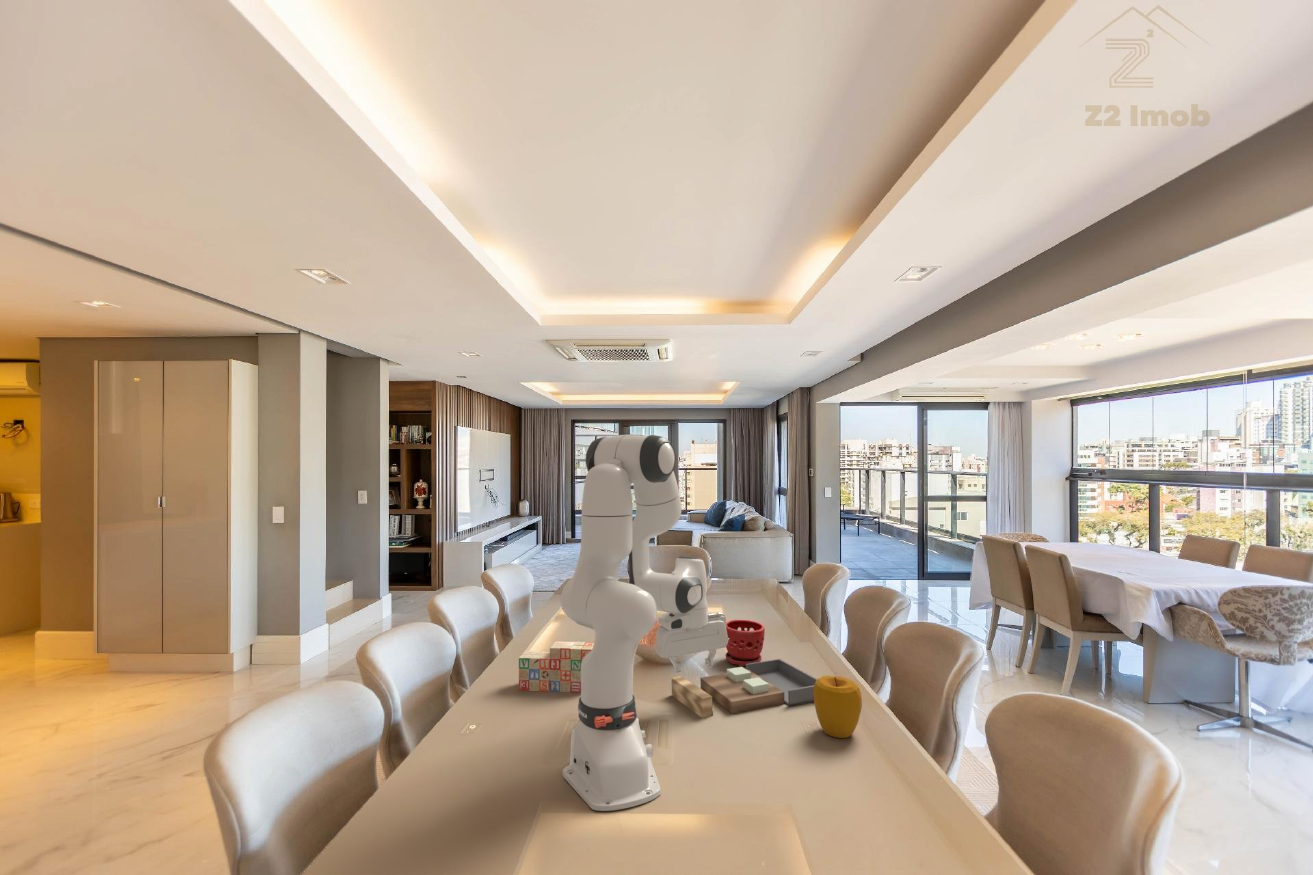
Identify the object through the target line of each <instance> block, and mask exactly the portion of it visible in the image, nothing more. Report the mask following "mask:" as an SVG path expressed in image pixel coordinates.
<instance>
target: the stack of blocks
mask: <svg viewBox="0 0 1313 875" xmlns="http://www.w3.org/2000/svg"><path fill="white" fill-rule="evenodd" d="M593 646H594V642H586V641H554V642H553V644H552V645H551V646H550V648H549V651H540V650H539V651H538V650H536V651H533V650H525V651H524V652H523V653H522V654H521V655H520V656H519V657H518V691H532V692H539V691H540V692H558V693H559V692H560V693H562V692H563V693H564V692H565V693H580V694H581V663H582V660H583V658H584V657H585V656H586V655H587V654H588V653H589V652H591V651H592V649H593Z"/></svg>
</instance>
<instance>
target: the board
mask: <svg viewBox="0 0 1313 875" xmlns="http://www.w3.org/2000/svg"><path fill="white" fill-rule="evenodd" d="M748 671H749V672H751V671H750V670H748ZM758 677H759V676H758V675H756V674H755V673H753V672H751V679H752V678H758ZM759 678H760V679H762V680H764V679H763V678H761V677H759ZM764 681H765V682H767V681H766V680H764ZM767 683H768V684H769V691H768V692H763V693H758V694H752V693H750V692H749V691H747V690H746V689H744V688H743V681H741V682H734V681H733V680H732V679H730V678H729V677H727V672H725V673H721V674H716V675H709V676H702V677H700V689H702V690H703V691H705V692H706V693H708V694H709V695H711V696H712V700H714V701H716V702H717V703H718V704H719V705H721V706H722V707H723V708H724V709H725V710H727V711H728V712H729V713H730V714H731V715H733V714H738V713H739V714H740V713H744V712H749V711H753V710H759V709H764V708H769V707H775V706H779V705H784V704H786V703H785V701H784V692H783V691H782V690H780V689H779V688H777V687H775V686H774V685H772V684H771V683H769V682H767Z"/></svg>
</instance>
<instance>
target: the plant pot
mask: <svg viewBox="0 0 1313 875" xmlns="http://www.w3.org/2000/svg"><path fill="white" fill-rule="evenodd" d="M739 628H740V630H739ZM745 629H746V630H745ZM750 629H752V630H750ZM726 630H727V636H728V644H727V646H726V647H725V648H726V651H727V652H726V653H725V655H724V656H725V658H726V660H727V661H728V662H729V663H731V665H732V664H733V665H735V666H739V667H746V664H749V663H756V662H762V660H763V657H762V655H761V653H762V650H763V647H764V640H765V633H766V632H765V630H766V629H765V626H764V625H763V624H762V623H761V622H757V621H755V620H750V619H749V620H748V619H734V620H733V619H732V620H731V619H730V620H729V621H726Z"/></svg>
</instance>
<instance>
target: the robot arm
mask: <svg viewBox="0 0 1313 875" xmlns="http://www.w3.org/2000/svg"><path fill="white" fill-rule="evenodd" d="M676 460H677V459H676V451H675V448H674V446H673V445H672V443H671V442H670V441H669V440H668V438H667V437H664V436H662V435H661V436H660V435H655V434H651V435H641V434H640V435H639V434H630V433H629V434H619V435H614V436H607V435H606V436H603V437H599V438H596V439H594V440H592V441H591V442H590V444H589V446H588V448H587V450H586V452H585V467H586V470H587V473H586V475H585V476H586V477H585V480H584V483H583V484H584V486H583V491H582V493H583V494H582V499H581V500H582V501H581V526H580V527H581V528H580V529H581V533H580V536H581V537H580V552H579V556H578V561H577V564H576V568H575V570H574V573H573V576H572V577H571V578H570V579H569V580H568V581H567V583H565V585H564V587H563V589H562V591H561V594H560V606H561V610H562V611H563V613H564V614H565V616H566V617H568V618H570V620H572V621H573V622H574V623H576V624H578V625H579V626H582V627H585V628H588V629H590V630H593V631H594V633H595V635H594V636H595V637H594V642H593V643H594V646H593V649H592V651H591V652H589V653H588V654H587V655H586V656H585V657H584V658H583V660H582V663H581V693H580V696H579V698H578V706H577V711H578V722H577V724H575V726H574V728H572V730H571V736H570V737H571V738H570V753H569V754H570V755H569V756H570V757H569V764H567V765H566V766H565V767H563V769H562V777H563V779H565V781H566V782H568V784H569V785H570V786H571V788H573V790H574V791H575V792H576V793H577V794H578V795H579V796H580V797H581V799H582V800H583V801H584V802H585V803H586V804H587V806H588V807H590V809H592V810H594V811H600V812H606V811H607V812H610V811H618V810H624V809H628V808H632V807H633V808H634V807H636V806H639V805H642V804H645V803H648V802H650V801H653V800H654V799H657V798H658V797H659V796H660V795H661V793H662V790H661V789H662V788H661V786H660V783H659V779H658V777H657V774H656V771H655V768H654V765H653V761H652V759H651V757H653V754H654V751H653V750H654V749H653V744H651V743H648V744H645V741H644V738H645V739H646V731H645V730H642V729H641V728H640V727H641V726H640V723H639V721H640V720H639V718H638V717H637V716H638V715H637V704H636V699H635V695H634V692H633V690H634V687H633V686H634V662H635V655H636V653H637V649H638V647H639V644H640V642H641V640H642V639H643V638H644V637H646V636H647V635H649V633H650V632H651V631H652V629H653V627H654V626H655V623H656V621H657V623H658V624H659V625H660V626H659V627H658V628H657V630H656V636H655V652H656V654H657V655H658V656H659V657H660V658H661V659H666V658H667V659H669V661H670V662H671V664H672V665H673V666H672V670H673V672H674V673H680V672H682V669H681V667H682V665H681V664H680V663H679V662H678V663H677V659H678V656H679V657H680V656H683V655H689V654H690V655H691V654H696V653H700V652H706V651H708V652H709V653H708V655H707V657H706V658H704V664H705V666H706V667H707V668H708V667H712V666H713V664H714V663H713V661H714V658H715V656H716V654H717V650H718V649H724V648H726V646H727V644H728V639H729V638H728V636H727V630H726V622H727V617H726V615H725V614H723V613H722V612H716V613H715V612H714V613H709V606H708V605H709V603H708V601H707V592H708V580H707V576H708V575H707V570H706V565H705V561H704V560H703V559H702V558H701V557H696V556H678V557H677V558H676V559H675V564H674V565H675V566H674V570H673V571H672V572H671V573H665V572H656V571H654V570H652V568H651V567H650V540H651V539H652V538H654V537H657V536H659V535H662V534H665V533H666V532H668V531H669V530H671V529H672V528H673V527H675V525H676V524H677V523H678V522H679V520H680V518H681V515H682V501H681V495H680V491H679V486H678V482H677V478H676V474H675V471H674V469H675V468H676V462H677V461H676ZM632 484H633V485H632ZM631 485H632V486H633V495H634V500H635V508H636V509H635V510H636V511H635V515H634V516H633V510H634V509H633V498H632V488H631V487H632V486H631ZM627 557H628V564H629V565H628V567H629V568H628V569H629V580H628V582H624V581H619V580H618V575H619V570H620V567H621V564H622V562H623V560H625V559H626V558H627ZM657 612H663V613H664V614H662V615H660V616H659V617H658V618H657V615H658V613H657ZM657 619H658V620H657Z"/></svg>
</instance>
